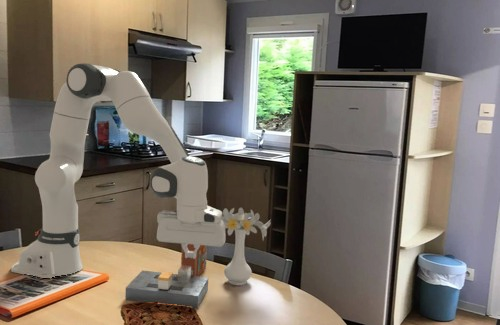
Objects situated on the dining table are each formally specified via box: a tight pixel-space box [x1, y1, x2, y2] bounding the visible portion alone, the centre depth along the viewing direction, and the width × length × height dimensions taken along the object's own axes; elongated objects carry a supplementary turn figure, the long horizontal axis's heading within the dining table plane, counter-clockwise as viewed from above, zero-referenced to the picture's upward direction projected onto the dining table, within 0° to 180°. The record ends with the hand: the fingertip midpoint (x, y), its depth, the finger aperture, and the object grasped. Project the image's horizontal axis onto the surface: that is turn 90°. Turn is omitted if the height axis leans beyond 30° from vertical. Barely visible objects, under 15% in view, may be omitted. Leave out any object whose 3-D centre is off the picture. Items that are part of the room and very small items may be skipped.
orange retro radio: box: [180, 243, 208, 277], centre depth 163 cm, size 21×7×15 cm
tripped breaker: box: [158, 271, 174, 290], centre depth 141 cm, size 3×4×4 cm
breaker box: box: [125, 265, 209, 310], centre depth 144 cm, size 22×14×8 cm, turn 83°
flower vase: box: [221, 207, 272, 286], centre depth 156 cm, size 13×18×25 cm
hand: (190, 257), depth 139 cm, fingers closed
